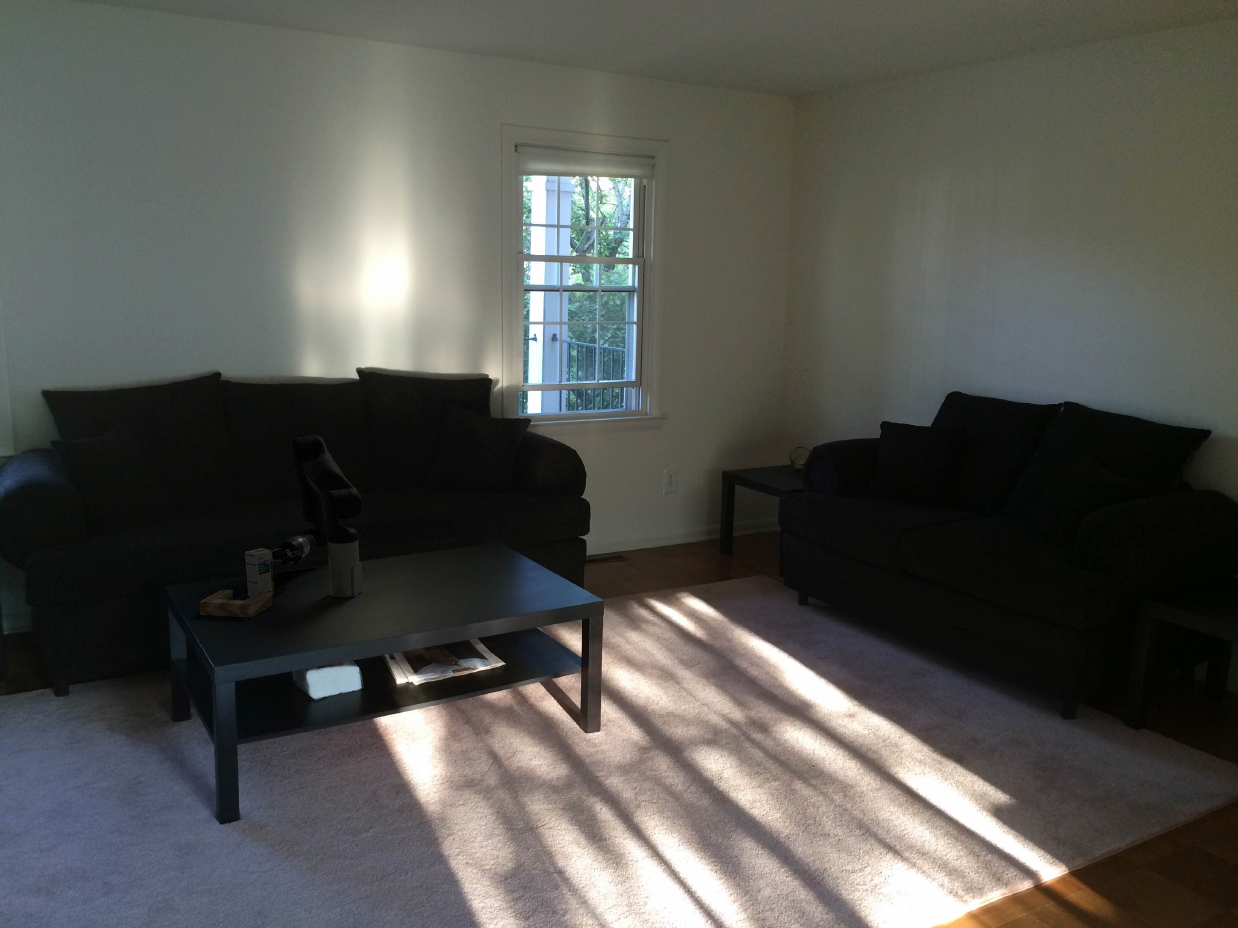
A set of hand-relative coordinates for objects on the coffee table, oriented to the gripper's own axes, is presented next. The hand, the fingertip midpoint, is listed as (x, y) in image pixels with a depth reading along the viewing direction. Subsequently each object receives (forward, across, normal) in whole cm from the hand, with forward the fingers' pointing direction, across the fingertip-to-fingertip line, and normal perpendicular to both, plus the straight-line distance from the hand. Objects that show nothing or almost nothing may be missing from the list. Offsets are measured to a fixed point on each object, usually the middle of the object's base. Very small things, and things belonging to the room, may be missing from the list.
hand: (269, 561), depth 312 cm
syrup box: (+6, 0, +9) cm, 11 cm away
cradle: (+21, 0, +9) cm, 23 cm away
